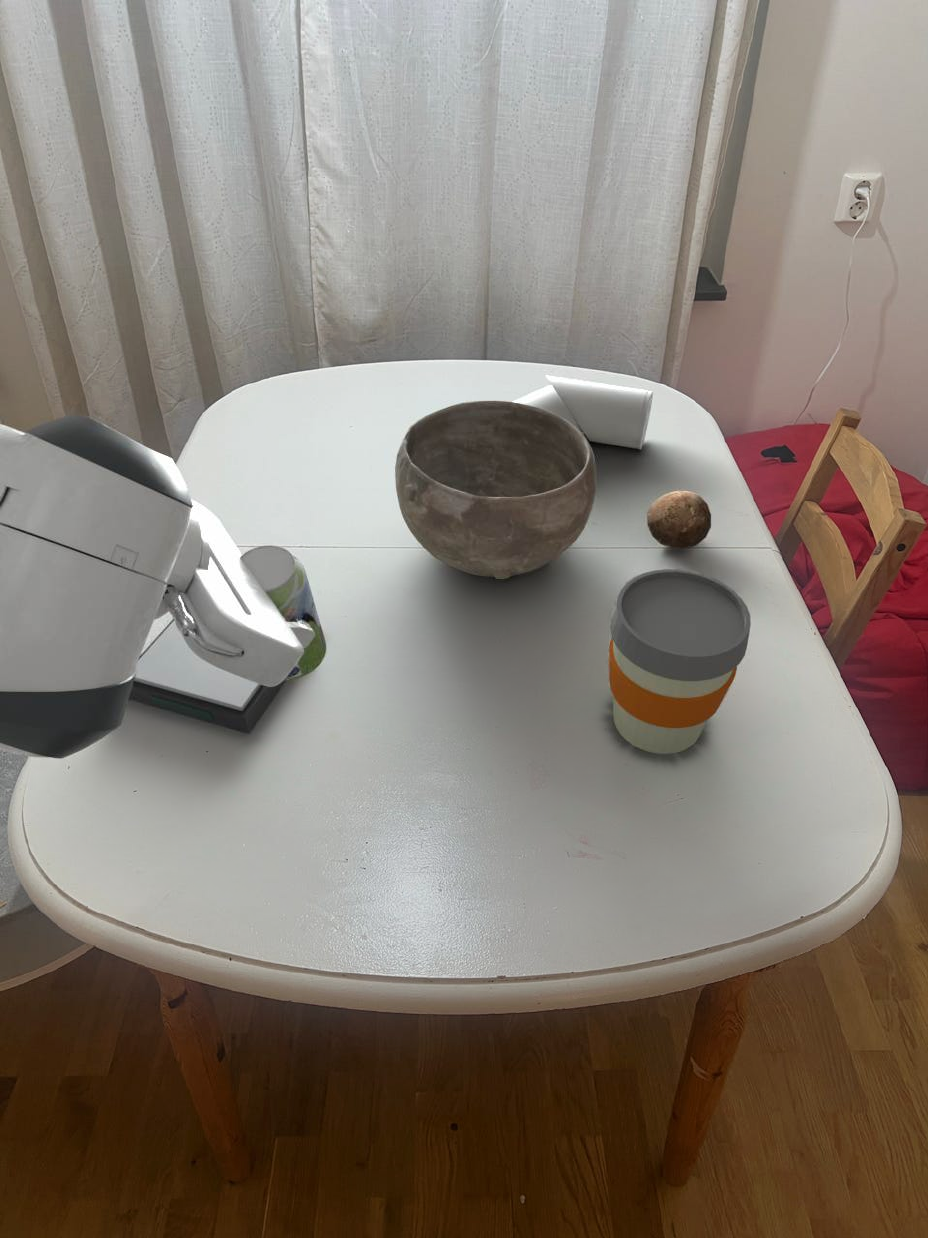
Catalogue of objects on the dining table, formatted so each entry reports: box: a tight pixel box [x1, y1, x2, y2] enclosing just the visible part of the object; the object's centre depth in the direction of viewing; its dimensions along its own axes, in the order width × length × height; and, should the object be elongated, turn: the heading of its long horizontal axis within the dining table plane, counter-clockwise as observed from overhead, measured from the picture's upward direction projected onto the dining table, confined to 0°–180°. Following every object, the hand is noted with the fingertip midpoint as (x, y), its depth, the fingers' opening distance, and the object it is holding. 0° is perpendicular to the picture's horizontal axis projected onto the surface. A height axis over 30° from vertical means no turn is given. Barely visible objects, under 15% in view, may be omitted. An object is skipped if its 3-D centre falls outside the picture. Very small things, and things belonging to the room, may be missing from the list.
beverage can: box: [240, 544, 327, 681], centre depth 70 cm, size 6×7×12 cm
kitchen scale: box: [129, 618, 287, 735], centre depth 92 cm, size 15×15×3 cm
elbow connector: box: [513, 375, 654, 450], centre depth 125 cm, size 18×11×20 cm
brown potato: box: [646, 490, 712, 549], centre depth 109 cm, size 8×8×6 cm
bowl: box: [394, 400, 597, 580], centre depth 104 cm, size 24×24×15 cm
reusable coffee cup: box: [608, 568, 752, 755], centre depth 82 cm, size 13×13×15 cm
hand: (291, 612), depth 70 cm, fingers closed on beverage can, 5 cm apart
